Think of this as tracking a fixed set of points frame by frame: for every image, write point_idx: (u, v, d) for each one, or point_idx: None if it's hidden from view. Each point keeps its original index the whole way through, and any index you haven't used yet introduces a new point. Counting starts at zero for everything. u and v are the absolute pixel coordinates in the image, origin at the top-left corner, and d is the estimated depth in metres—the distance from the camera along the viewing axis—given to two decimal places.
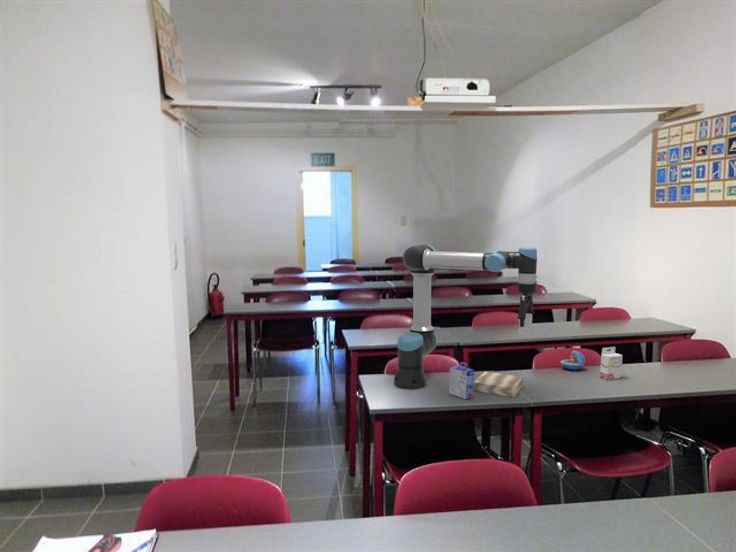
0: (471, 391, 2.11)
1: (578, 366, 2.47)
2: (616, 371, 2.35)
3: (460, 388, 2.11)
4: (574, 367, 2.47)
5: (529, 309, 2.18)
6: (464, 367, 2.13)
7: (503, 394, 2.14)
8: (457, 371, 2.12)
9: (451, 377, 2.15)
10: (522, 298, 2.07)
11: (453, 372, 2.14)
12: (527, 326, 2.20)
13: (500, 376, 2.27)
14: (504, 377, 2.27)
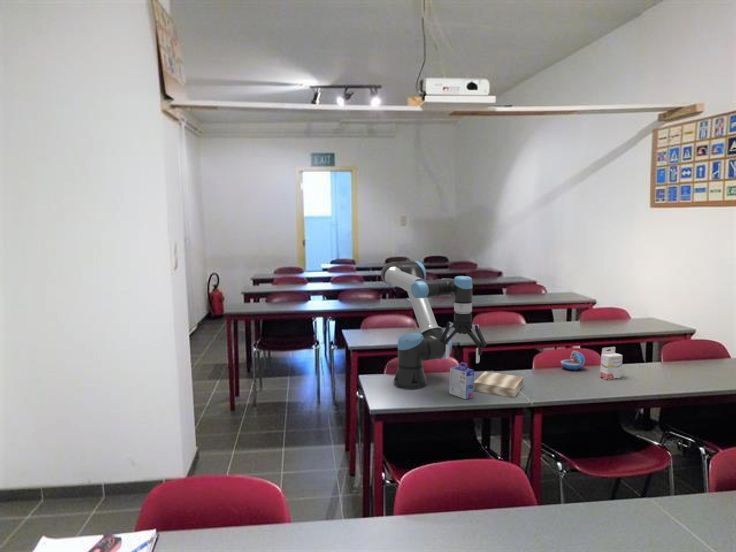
0: (471, 391, 2.11)
1: (578, 366, 2.47)
2: (616, 371, 2.35)
3: (460, 388, 2.11)
4: (574, 367, 2.47)
5: None
6: (464, 367, 2.13)
7: (503, 394, 2.14)
8: (457, 371, 2.12)
9: (451, 377, 2.15)
10: None
11: (453, 372, 2.14)
12: None
13: (500, 376, 2.27)
14: (504, 377, 2.27)
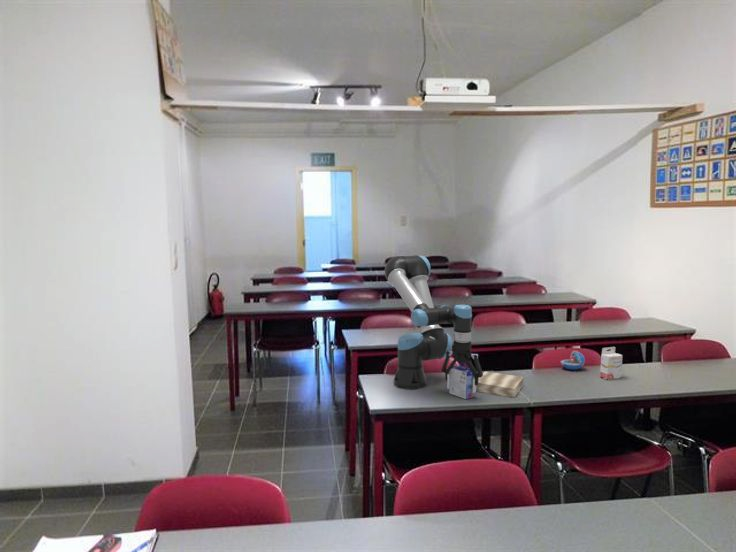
0: (471, 391, 2.11)
1: (578, 366, 2.47)
2: (616, 371, 2.35)
3: (460, 388, 2.11)
4: (574, 367, 2.47)
5: None
6: (464, 367, 2.13)
7: (503, 394, 2.14)
8: (457, 371, 2.12)
9: (451, 377, 2.15)
10: None
11: (453, 372, 2.14)
12: None
13: (500, 376, 2.27)
14: (504, 377, 2.27)
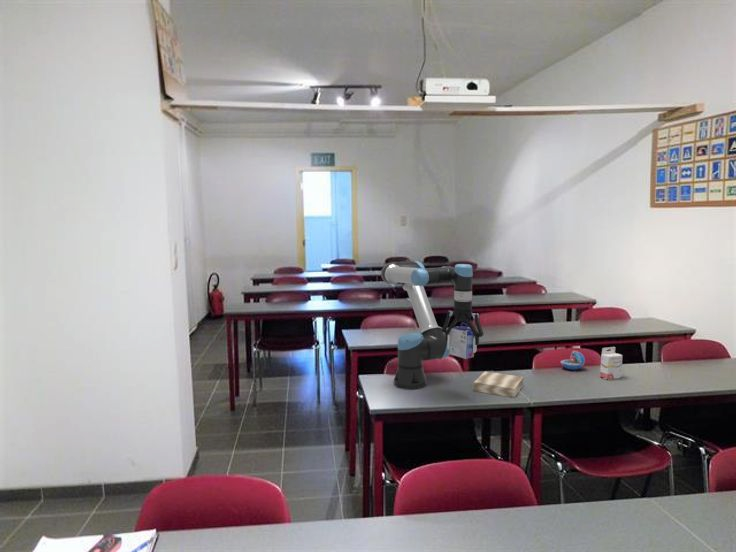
0: (471, 351, 2.09)
1: (578, 366, 2.47)
2: (616, 371, 2.35)
3: (461, 347, 2.09)
4: (574, 367, 2.47)
5: None
6: (465, 327, 2.11)
7: (503, 394, 2.14)
8: (457, 331, 2.10)
9: (451, 337, 2.13)
10: None
11: (453, 332, 2.12)
12: None
13: (500, 376, 2.27)
14: (504, 377, 2.27)
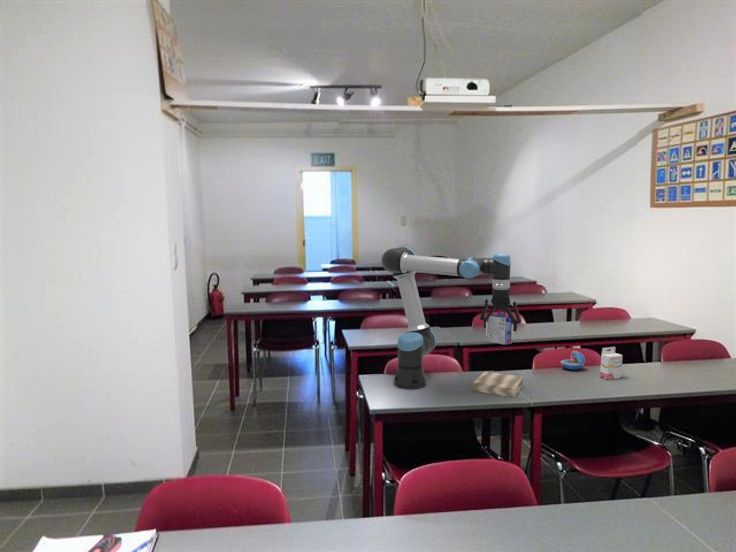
0: (510, 337, 2.17)
1: (578, 366, 2.47)
2: (616, 371, 2.35)
3: (499, 334, 2.17)
4: (574, 367, 2.47)
5: None
6: (503, 314, 2.19)
7: (503, 394, 2.14)
8: (496, 318, 2.19)
9: (490, 325, 2.21)
10: None
11: (492, 319, 2.20)
12: None
13: (500, 376, 2.27)
14: (504, 377, 2.27)
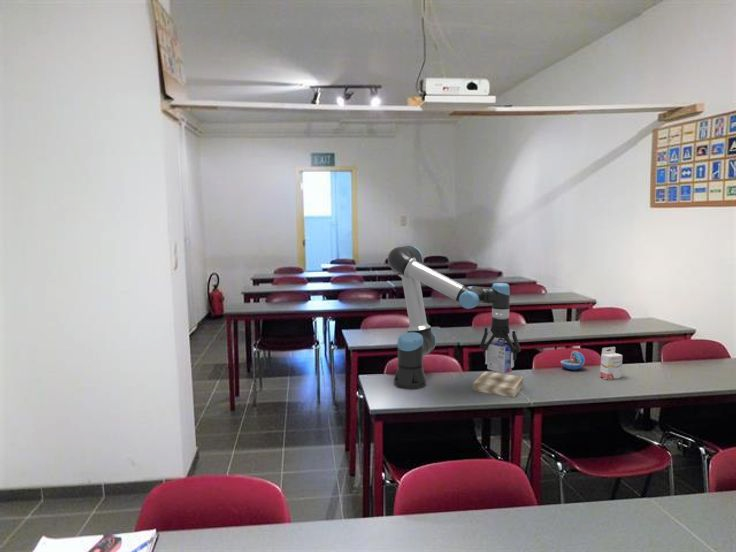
0: (509, 366, 2.19)
1: (578, 366, 2.47)
2: (616, 371, 2.35)
3: (499, 363, 2.19)
4: (574, 367, 2.47)
5: None
6: (502, 343, 2.21)
7: (503, 394, 2.14)
8: (495, 347, 2.20)
9: (489, 353, 2.23)
10: None
11: (491, 348, 2.22)
12: None
13: (500, 376, 2.27)
14: (504, 377, 2.27)
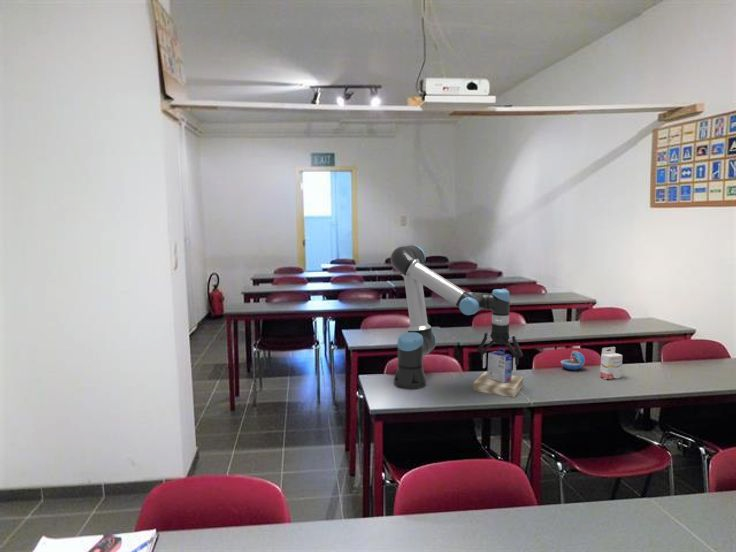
0: (509, 375, 2.19)
1: (578, 366, 2.47)
2: (616, 371, 2.35)
3: (499, 372, 2.19)
4: (574, 367, 2.47)
5: None
6: (502, 352, 2.21)
7: (503, 394, 2.14)
8: (496, 356, 2.20)
9: (489, 362, 2.23)
10: None
11: (491, 357, 2.22)
12: None
13: None
14: None
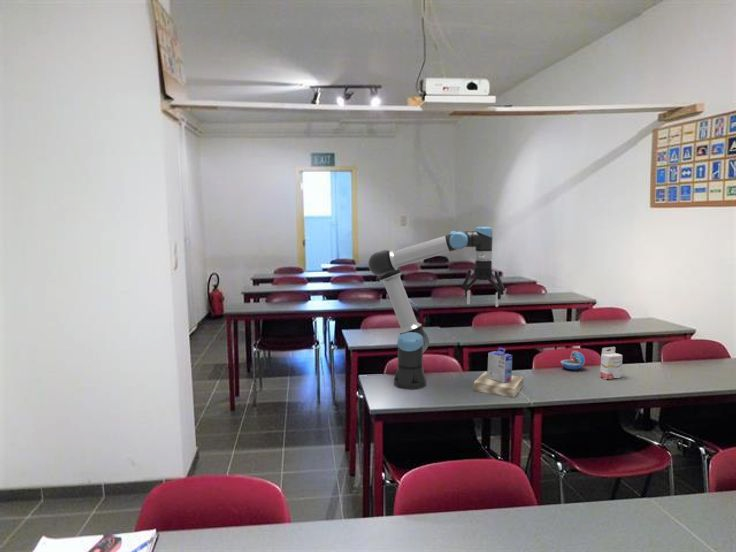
0: (509, 375, 2.19)
1: (578, 366, 2.47)
2: (616, 371, 2.35)
3: (499, 372, 2.19)
4: (574, 367, 2.47)
5: None
6: (502, 352, 2.21)
7: (503, 394, 2.14)
8: (496, 356, 2.20)
9: (489, 362, 2.23)
10: None
11: (491, 357, 2.22)
12: None
13: None
14: None
